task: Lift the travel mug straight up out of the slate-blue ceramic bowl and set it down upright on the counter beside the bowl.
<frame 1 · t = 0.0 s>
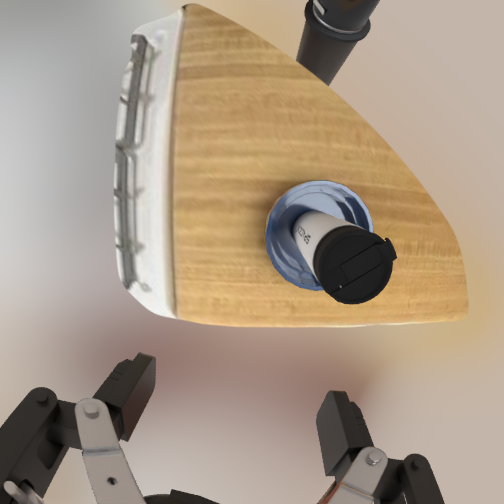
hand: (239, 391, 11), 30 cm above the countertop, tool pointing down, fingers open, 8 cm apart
bowl: (313, 230, 39), on the countertop
travel mug: (314, 230, 39), resting on bowl
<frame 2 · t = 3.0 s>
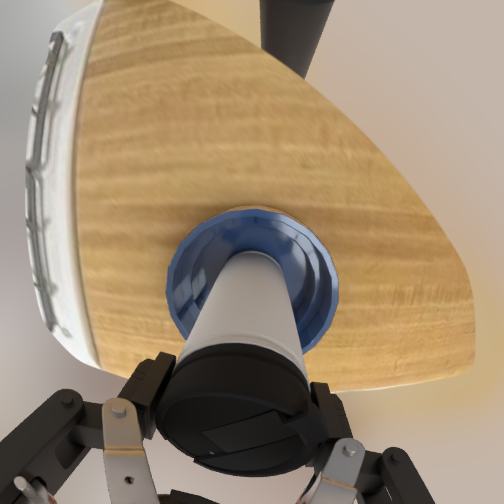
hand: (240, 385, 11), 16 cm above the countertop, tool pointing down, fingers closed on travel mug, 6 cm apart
bowl: (253, 276, 27), on the countertop
travel mug: (253, 277, 27), resting on bowl, touching gripper
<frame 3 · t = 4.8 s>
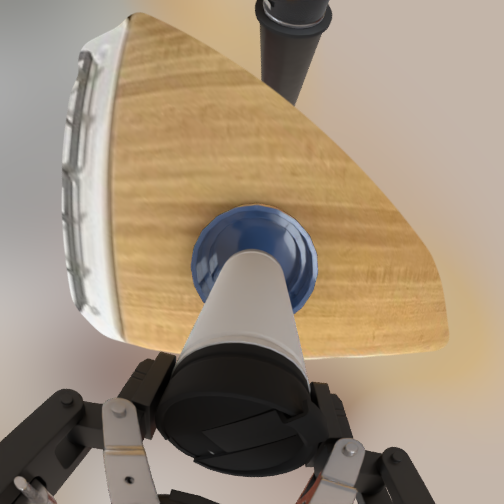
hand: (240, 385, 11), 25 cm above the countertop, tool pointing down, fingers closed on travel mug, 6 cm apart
bowl: (255, 257, 36), on the countertop
travel mug: (253, 277, 27), point 9 cm above the countertop, touching gripper
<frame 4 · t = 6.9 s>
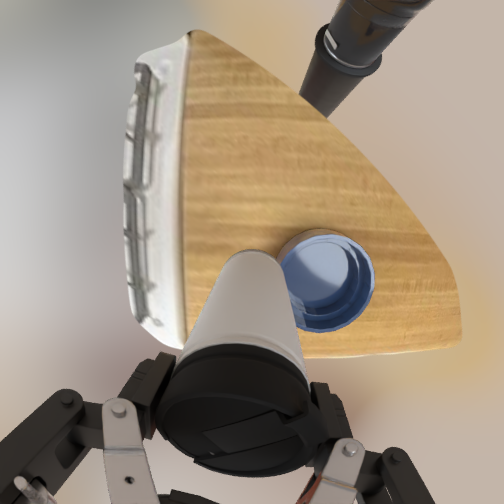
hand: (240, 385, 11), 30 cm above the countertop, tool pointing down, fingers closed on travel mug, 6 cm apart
bowl: (318, 273, 42), on the countertop
travel mug: (253, 278, 27), point 14 cm above the countertop, touching gripper
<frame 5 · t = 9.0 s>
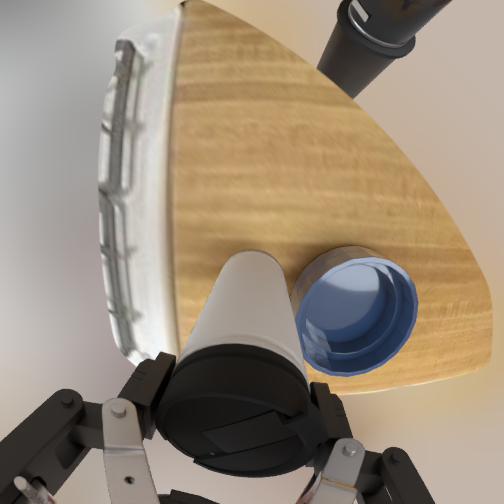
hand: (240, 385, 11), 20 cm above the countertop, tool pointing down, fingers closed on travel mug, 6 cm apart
bowl: (345, 301, 32), on the countertop
travel mug: (253, 278, 27), point 4 cm above the countertop, touching gripper
when the fingers open (16 cm above the countertop, at t = 10.7 s): travel mug stays where it is, on the countertop.
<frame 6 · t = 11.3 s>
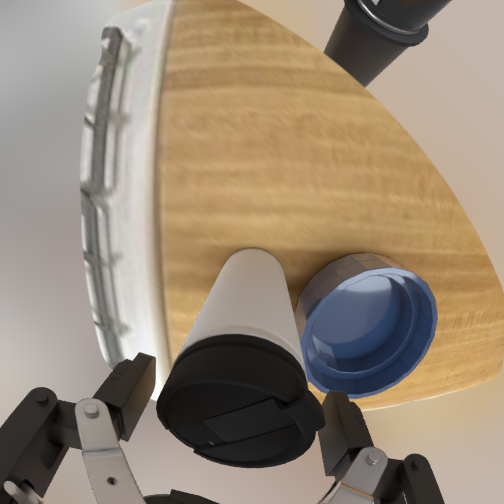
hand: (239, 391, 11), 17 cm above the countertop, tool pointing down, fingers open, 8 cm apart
bowl: (356, 314, 28), on the countertop
travel mug: (254, 276, 28), on the countertop
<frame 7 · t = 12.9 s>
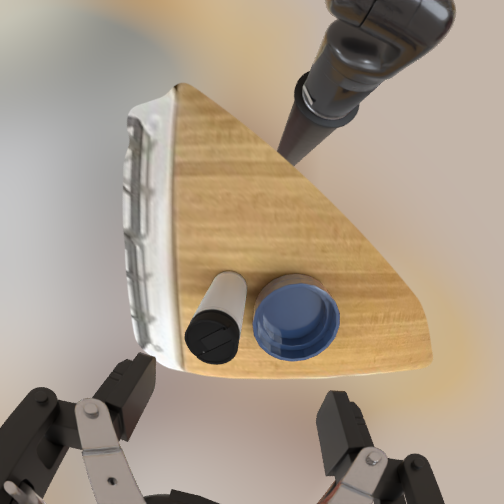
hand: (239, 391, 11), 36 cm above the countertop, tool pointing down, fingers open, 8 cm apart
bowl: (293, 310, 48), on the countertop
travel mug: (230, 286, 48), on the countertop
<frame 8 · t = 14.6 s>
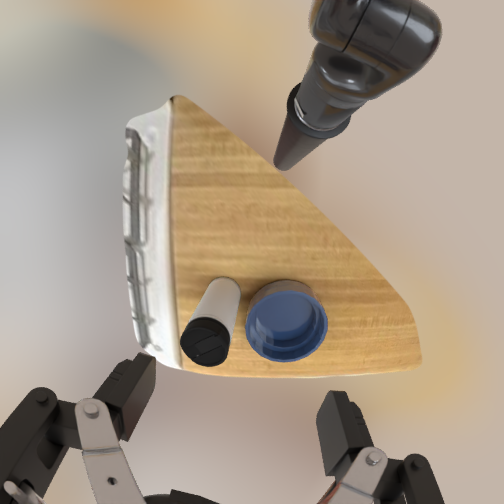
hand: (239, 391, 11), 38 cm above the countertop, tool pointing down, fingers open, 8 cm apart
bowl: (284, 314, 51), on the countertop
travel mug: (225, 291, 51), on the countertop
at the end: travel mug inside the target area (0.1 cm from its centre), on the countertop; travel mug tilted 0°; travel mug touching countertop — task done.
